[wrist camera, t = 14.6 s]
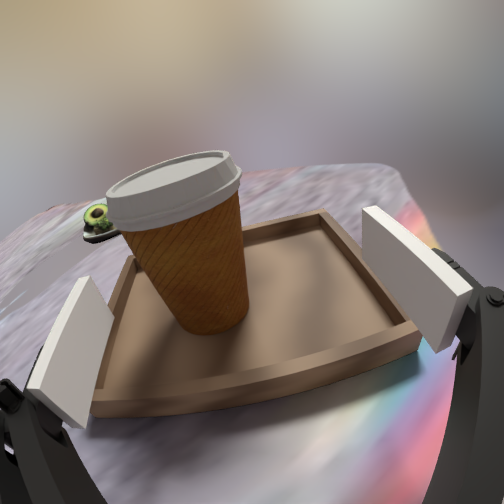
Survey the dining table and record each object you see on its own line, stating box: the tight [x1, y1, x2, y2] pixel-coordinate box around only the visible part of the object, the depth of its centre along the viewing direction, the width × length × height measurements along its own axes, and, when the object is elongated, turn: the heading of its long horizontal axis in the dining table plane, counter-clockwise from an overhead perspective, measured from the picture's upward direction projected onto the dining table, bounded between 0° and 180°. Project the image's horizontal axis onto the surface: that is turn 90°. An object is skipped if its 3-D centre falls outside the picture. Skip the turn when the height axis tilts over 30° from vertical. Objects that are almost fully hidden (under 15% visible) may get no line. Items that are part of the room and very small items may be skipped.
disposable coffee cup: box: [106, 150, 249, 336], centre depth 20 cm, size 10×10×12 cm
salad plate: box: [83, 204, 121, 244], centre depth 53 cm, size 19×18×5 cm
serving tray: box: [89, 208, 423, 418], centre depth 24 cm, size 24×20×2 cm
